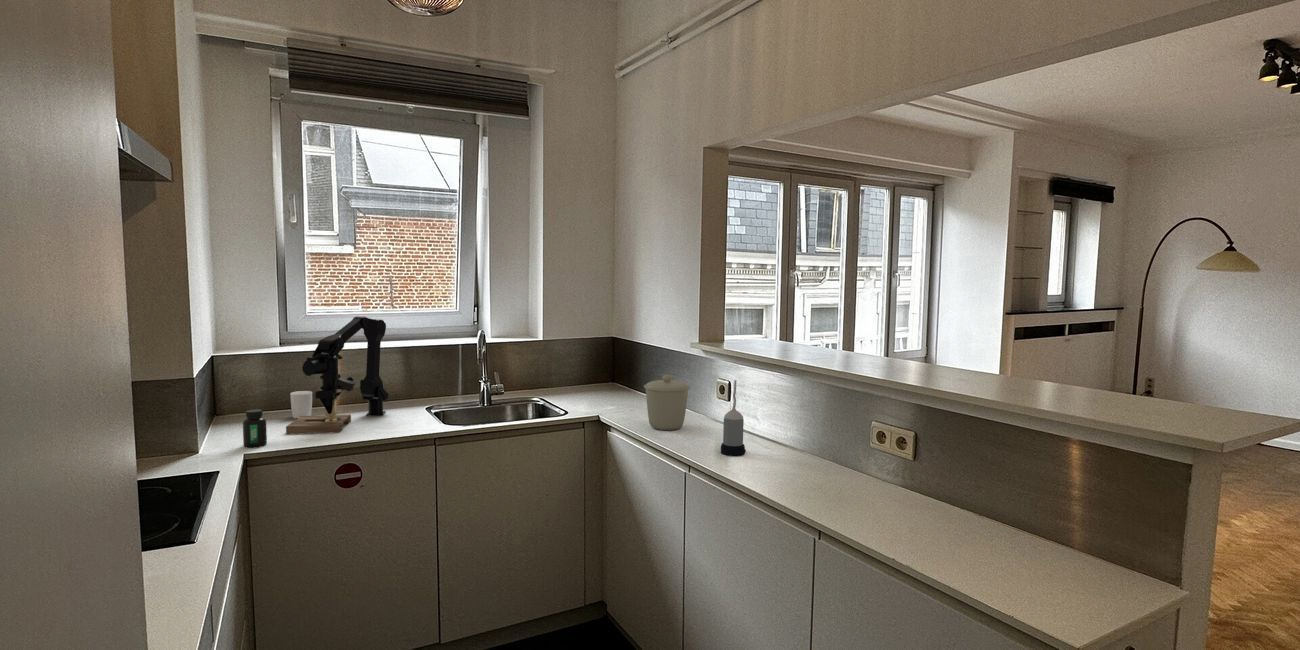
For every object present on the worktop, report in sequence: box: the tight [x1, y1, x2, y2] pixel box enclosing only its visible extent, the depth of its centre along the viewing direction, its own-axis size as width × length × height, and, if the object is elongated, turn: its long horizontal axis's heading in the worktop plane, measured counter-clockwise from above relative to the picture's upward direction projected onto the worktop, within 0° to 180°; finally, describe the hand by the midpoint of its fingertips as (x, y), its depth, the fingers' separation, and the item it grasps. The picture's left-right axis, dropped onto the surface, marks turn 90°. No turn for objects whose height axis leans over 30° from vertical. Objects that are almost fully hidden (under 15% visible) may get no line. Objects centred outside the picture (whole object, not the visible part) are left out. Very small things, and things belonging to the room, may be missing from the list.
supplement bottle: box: [242, 408, 268, 449], centre depth 222 cm, size 7×7×12 cm
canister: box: [643, 373, 691, 431], centre depth 257 cm, size 18×18×21 cm
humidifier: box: [720, 379, 747, 457], centre depth 221 cm, size 8×8×25 cm
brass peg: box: [324, 399, 338, 422], centre depth 249 cm, size 4×4×9 cm
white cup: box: [289, 390, 313, 419], centre depth 265 cm, size 8×8×10 cm
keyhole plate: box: [285, 413, 352, 435], centre depth 249 cm, size 18×18×3 cm
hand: (331, 412), depth 249 cm, fingers closed on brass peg, 3 cm apart
